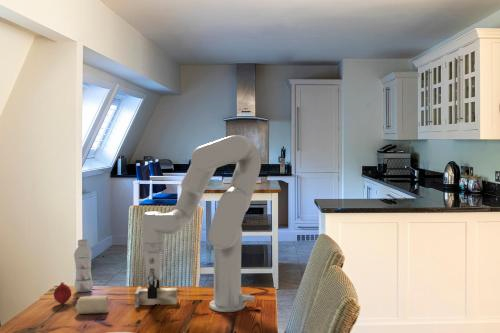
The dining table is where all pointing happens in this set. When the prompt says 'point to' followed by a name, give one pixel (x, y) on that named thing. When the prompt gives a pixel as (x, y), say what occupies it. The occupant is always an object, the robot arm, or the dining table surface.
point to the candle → (92, 304)
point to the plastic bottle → (83, 267)
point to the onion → (62, 293)
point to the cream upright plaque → (162, 297)
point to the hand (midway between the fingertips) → (153, 294)
